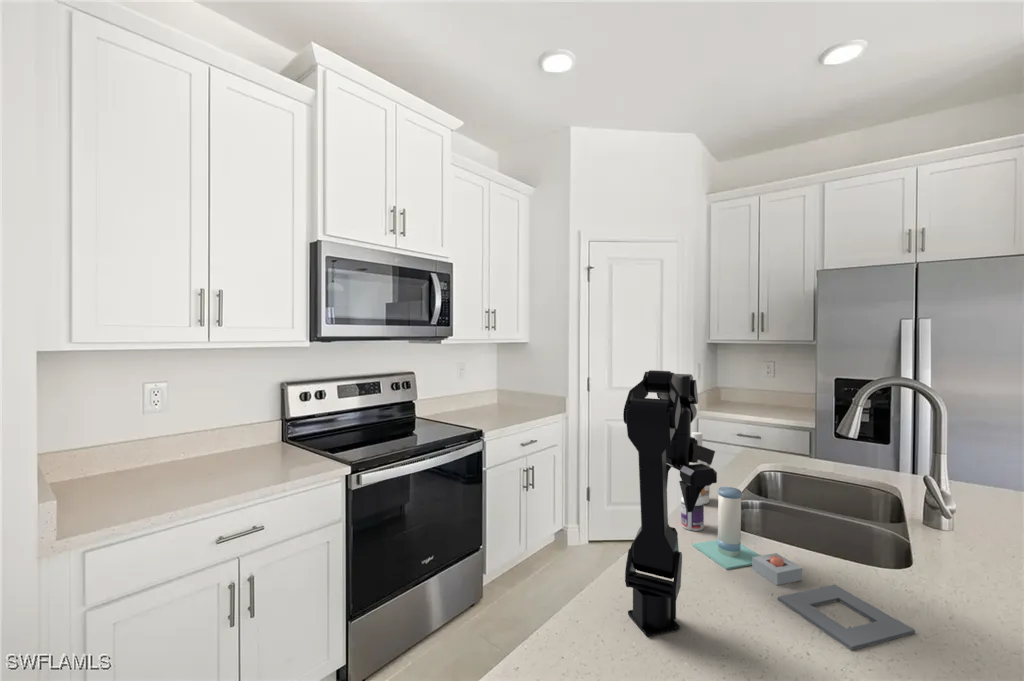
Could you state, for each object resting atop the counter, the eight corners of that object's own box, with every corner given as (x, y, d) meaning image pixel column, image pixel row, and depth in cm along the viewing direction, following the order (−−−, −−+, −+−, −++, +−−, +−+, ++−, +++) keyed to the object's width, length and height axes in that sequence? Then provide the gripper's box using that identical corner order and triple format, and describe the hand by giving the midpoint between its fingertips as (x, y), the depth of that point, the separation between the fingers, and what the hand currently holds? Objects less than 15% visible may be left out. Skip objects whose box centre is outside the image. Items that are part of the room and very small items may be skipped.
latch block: (777, 585, 91) (777, 572, 91) (752, 569, 97) (752, 557, 97) (802, 580, 93) (802, 567, 92) (776, 564, 99) (776, 553, 98)
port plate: (851, 650, 73) (851, 646, 73) (777, 599, 86) (777, 596, 86) (914, 633, 76) (915, 629, 76) (834, 587, 90) (834, 584, 90)
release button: (776, 574, 93) (776, 562, 93) (767, 568, 95) (767, 556, 95) (786, 572, 94) (786, 560, 94) (776, 566, 96) (776, 555, 96)
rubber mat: (726, 569, 97) (726, 567, 97) (692, 545, 107) (692, 543, 107) (768, 561, 100) (768, 560, 100) (731, 539, 110) (731, 537, 110)
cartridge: (739, 559, 100) (740, 495, 100) (716, 553, 103) (716, 491, 102) (741, 550, 104) (742, 489, 104) (719, 544, 107) (719, 485, 106)
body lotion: (703, 507, 129) (703, 437, 129) (679, 500, 134) (680, 433, 134) (713, 500, 134) (713, 433, 134) (690, 494, 139) (690, 429, 139)
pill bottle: (705, 525, 118) (705, 488, 118) (701, 533, 113) (701, 494, 113) (683, 520, 121) (683, 484, 121) (678, 528, 116) (679, 490, 116)
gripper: (739, 439, 92) (739, 516, 92) (681, 420, 110) (680, 485, 110) (692, 443, 89) (692, 523, 89) (640, 423, 107) (639, 490, 107)
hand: (676, 503), depth 99 cm, fingers open, 9 cm apart
